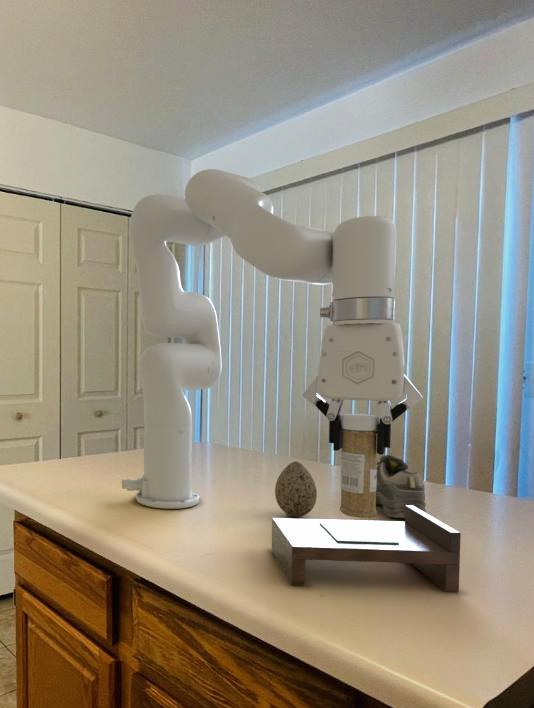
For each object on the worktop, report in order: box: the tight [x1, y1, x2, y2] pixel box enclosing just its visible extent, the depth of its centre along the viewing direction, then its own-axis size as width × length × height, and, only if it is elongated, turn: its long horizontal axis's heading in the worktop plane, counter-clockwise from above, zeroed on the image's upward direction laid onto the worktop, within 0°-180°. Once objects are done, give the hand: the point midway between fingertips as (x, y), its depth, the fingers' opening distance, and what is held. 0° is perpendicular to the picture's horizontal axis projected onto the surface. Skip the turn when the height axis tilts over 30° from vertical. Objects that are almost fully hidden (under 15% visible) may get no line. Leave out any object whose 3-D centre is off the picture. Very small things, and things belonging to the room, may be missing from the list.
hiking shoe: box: [376, 454, 427, 519], centre depth 101 cm, size 9×21×12 cm
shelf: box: [270, 505, 462, 593], centre depth 71 cm, size 20×12×7 cm, turn 85°
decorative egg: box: [274, 461, 318, 518], centre depth 95 cm, size 7×7×10 cm
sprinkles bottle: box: [339, 413, 380, 519], centre depth 70 cm, size 5×5×14 cm
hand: (359, 449), depth 70 cm, fingers closed on sprinkles bottle, 4 cm apart
